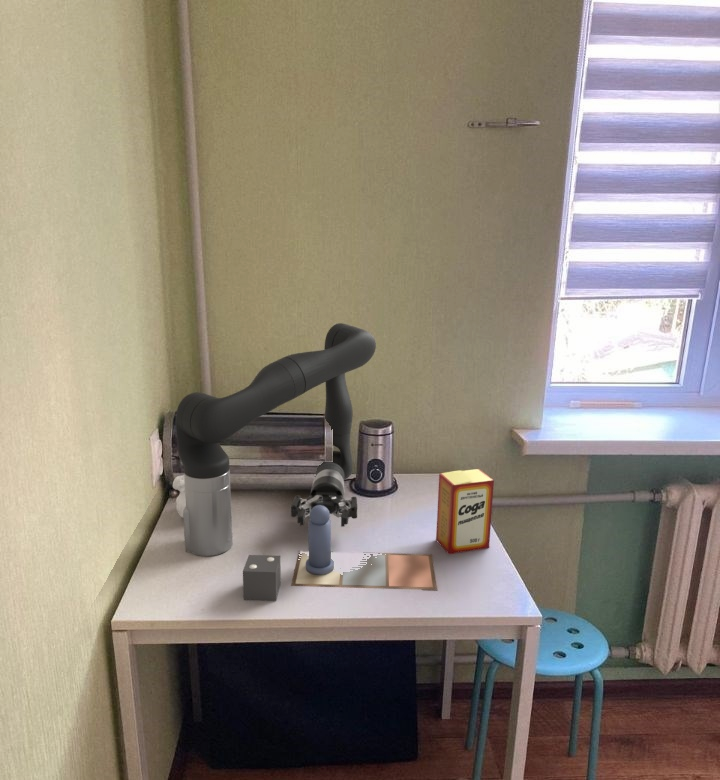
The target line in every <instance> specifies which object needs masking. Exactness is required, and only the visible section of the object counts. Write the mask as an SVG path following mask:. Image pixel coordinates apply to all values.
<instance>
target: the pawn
mask: <svg viewBox="0 0 720 780" xmlns="http://www.w3.org/2000/svg"><path fill="white" fill-rule="evenodd" d="M330 518H331V514H330V513H329V510H328V509H327V508H326V507H325V506H322V505H317V506H315V507H313V508H312V509H311V511H310V517H309V519H308V551H309V559H308V560H307V561H306V571H307V572H308V573H310V574H313V575H326V574H329V573H331V572H332V571H333V569H334V561H333V560H332V559H331V552H332V520H331V519H330Z"/></svg>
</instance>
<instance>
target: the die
mask: <svg viewBox="0 0 720 780" xmlns="http://www.w3.org/2000/svg"><path fill="white" fill-rule="evenodd" d="M281 569H282V568H281V555H271V554H270V555H268V554H267V555H266V554H263V555H262V554H248V557H247V559H246V561H245V564H244V567H243V569H242V591H243V601H256V602H257V601H260V602H261V601H263V602H265V601H266V602H277V599H278V595H279V592H280V588H281V584H282V581H281V580H282V577H281V574H282V573H281Z"/></svg>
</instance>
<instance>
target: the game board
mask: <svg viewBox="0 0 720 780" xmlns="http://www.w3.org/2000/svg"><path fill="white" fill-rule="evenodd" d="M377 553H378V554H380V553H382V555H377V556H373V554H370V555H371V557H370V558H369V559H367V561H360V562H367V564H366V563H360V564H366V565H358V566H363V567H362V568H361V567H352V568H360V569H358V570H355V569H350V570H353V571H350V572H343V575H341V574H340V572H334V571H332V572H331V573H329V574H326V575H313V574H310V573H308V572H307V571H306V561H307V560H308V559H309V556H307V554H305V553H302V554H300V553H297V558H296V562H295V567H294V570H293V574H292V578H291V579H292V580H291V582H290V587H313V588H315V587H317V588H319V587H320V588H347V589H348V588H350V589H351V588H352V589H355V588H356V589H362V588H363V589H383V590H384V589H388V590H389V589H391V590H418V591H420V590H421V591H438V585H437V580H436V579H437V578H436V572H435V566H434V560H433V554H431V553H401V552H400V553H399V552H397V553H396V552H393V553H392V552H377ZM298 554H300V555H302V556H299V555H298ZM385 554H386V555H385ZM364 555H366V554H364ZM299 557H301V558H299ZM367 557H369V556H367ZM375 557H377V558H375ZM363 558H364V557H363ZM298 559H300V560H298ZM362 560H366V559H362ZM371 564H372V565H371ZM340 569H341V568H340ZM333 570H335V569H333Z"/></svg>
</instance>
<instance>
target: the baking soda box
mask: <svg viewBox="0 0 720 780" xmlns="http://www.w3.org/2000/svg"><path fill="white" fill-rule="evenodd" d="M494 485H495V480H494V479H493V478H492V477H491V476H489V475H488V474H486V473H485V472H484V471H483V470H481V469H480V468H477V469H476V468H475V469H474V468H473V469H465V470H461V469H459V470H453V471H446V472H441V473H440V472H439V475H438V490H437V491H438V496H437V511H436V512H437V513H436V514H437V515H436V536H435V540H436V542H437V543H438V542H439V543H440V544H441V545H440V544H439V543H438V544H439V545H440V546H441V547H442V548H443V550H445V552H446V553H447V554H448V555H452V554H457V553H464V552H465V553H466V552H471V551H472V552H473V551H477V550H483V549H488V548H490V540H491V539H490V538H491V527H492V526H491V524H492V513H493V499H494Z"/></svg>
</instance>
